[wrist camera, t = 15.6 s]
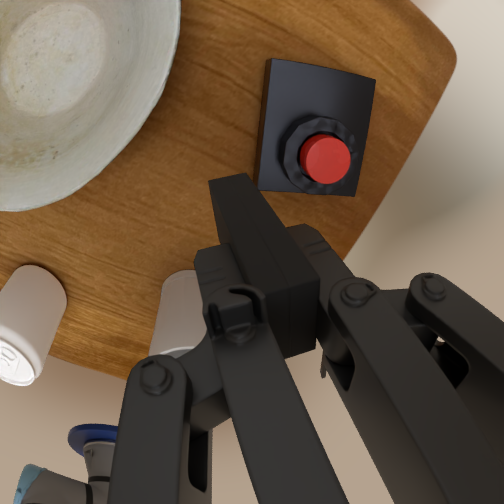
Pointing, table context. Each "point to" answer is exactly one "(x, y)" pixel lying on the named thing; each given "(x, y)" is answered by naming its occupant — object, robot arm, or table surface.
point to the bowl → (76, 89)
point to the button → (325, 158)
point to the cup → (179, 316)
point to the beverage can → (28, 322)
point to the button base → (309, 124)
